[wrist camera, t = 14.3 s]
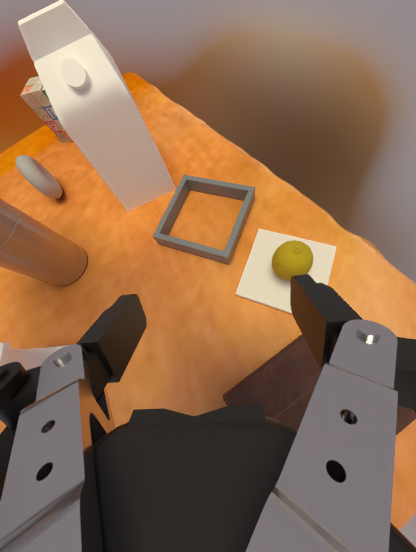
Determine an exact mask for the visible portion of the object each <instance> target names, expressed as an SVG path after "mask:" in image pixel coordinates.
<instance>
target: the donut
mask: <svg viewBox="0 0 416 552" xmlns="http://www.w3.org/2000/svg"><path fill="white" fill-rule="evenodd" d="M16 166H17V168H18V169H19V171H20V172H21V173H22V175H23V176H24V177H25V178H26V179H27V180H28V181H29V182H30V183H31V184H32V185H33V186H34V187H35V188H36V189H38V190H39V191H40V192H41V193H43V194H44V195H46V196H48V197H50V198H54V199H58V198H60V197H61V196H62V188H61V186H60V185H59V183H58V182H57V181H56V180H55V179H54V177H53V176H52V175H51V174H50V173H49V172H48V171H47V170H46V169H45V168H44V167H43V166H42V165H41V164H40V163H38V162H37V161H36V160H35V159H33V158H31V157H29V156H27V155H20V156H18V157H17V158H16Z"/></svg>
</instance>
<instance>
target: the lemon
mask: <svg viewBox="0 0 416 552" xmlns="http://www.w3.org/2000/svg"><path fill="white" fill-rule="evenodd" d="M312 265H313V253H312V251H311V249H310V247H309V246H308V245H306V244H305V243H303V242H301V241H296V240H292V241H287V242H285V243H283V244H282V245H280V246H279V247H278V248H277V249H276V251H275V252H274V254H273V257H272V268H273V271H274V273H275V274H276V275H277V276H278V277H279V278H281V279H283V280H285V281H291V276H295V275H303V274H307V273H308V272H309V271H310V269H311V267H312Z"/></svg>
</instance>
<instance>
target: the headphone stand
mask: <svg viewBox="0 0 416 552" xmlns="http://www.w3.org/2000/svg"><path fill="white" fill-rule="evenodd" d="M10 345H11V343H6V342H4V343H0V366H3V365H5V364H8V363H11V362H20V363H21V365H22V366H23V367H24V368H25V370H29V369H32V368H35V367H38V366H41V365H42V363H43V362H44V361H45V360H46V359H47V358H48V357H49V356H50V355H51V354H52V353H54V352H55V351H57V350H59V349H61V348H63V347H65V346H68V345H65V346H57V347H47V348H31V349H10ZM72 345H73V344H72Z"/></svg>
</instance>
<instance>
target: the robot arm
mask: <svg viewBox="0 0 416 552" xmlns="http://www.w3.org/2000/svg"><path fill="white" fill-rule="evenodd" d="M86 265H87V255H86V252H85V251H84V250H83V249H82V248H81V247H79V246H77V245H76V244H74V243H72V242H71V241H69V240H68V239H66V238H64V237H63V236H61V235H59V234H58V233H56V232H55V231H53V230H51V229H50V228H48V227H46V226H45V225H43V224H41V223H40V222H38V221H36V220H35V219H33V218H32V217H30V216H28V215H27V214H25V213H23V212H22V211H20V210H18V209H17V208H15V207H13V206H12V205H10V204H8V203H7V202H5V201H3V200H2V199H0V267H3V268H6V269H9V270H12V271H15V272H18V273H21V274H24V275H27V276H30V277H33V278H36V279H38V280H41V281H44V282H47V283H50V284H53V285H56V286H66V285H69V284H71V283H73V282H75V281H76V280H77V279H78V278H79V277H80V276H81V275H82V273H83V272H84V270H85V268H86ZM290 306H291V311H292V314H293V317H294V318H295V320H296V322H297V324H298V326H299V328H300V330H301V332H302V334H303V336H304V338H305V340H306V342H307V344H308V346H309V348H310V350H311V352H312V354H313V356H314V358H315V360H316V362H317V364H318V366H319V367H320V369H321V371H322V372H321V374H320V377H319V379H318V382H317V384H316V387H315V389H314V392H313V394H312V397H311V399H310V402H309V404H308V407H307V409H306V412H305V414H304V417H303V419H302V422H301V424H300V427H299V429H298V431H297V430H295V429H294V428H292V427H291V426H289V425H287V424H285V423H283V422H281V421H279V420H276V419H274V418H270V417H267V416H265V415H264V409H263V404H261V405H237V406H227V407H224V408H220V409H217V410H214V411H211V412H208V413H205V414H202V415H198V416H190V415H186V414H182V413H178V412H175V411H171V410H167V409H141V410H133V413H132V415H131V418H130V421H129V422H128V423H125V424H123V425H121V426H119V427H117V428H115V425H114V420H113V415H112V411H111V406H110V402H109V397H108V393H107V390H106V389H105V386H106V385H107V383H111V382H119V381H120V379H121V377H122V375H123V373H124V371H125V369H126V367H127V365H128V363H129V361H130V359H131V357H132V355H133V353H134V351H135V349H136V347H137V345H138V343H139V341H140V339H141V337H142V335H143V333H144V331H145V328H146V316H145V314H144V311H143V308H142V305H141V303H140V300H139V297H138V296H137V295H136V294H129V295H122V296H120V297H119V298H118V299H117V301H116V302H115V303H114V304H113V305H112V306H111V307H110V308H108V309H107V310H106V311H104V312H103V313H102V314H101V316H100V317H99V318H98V320H96V321H95V323H94V324H93V325H92V326H91V327H90V328H89V330H88V331H87V332H86V333H85V334H84V335H83V337H82V338H81V339H80V340H79V341H78V342H77V344H73V345H68V346H65V347H63V348H61V349H59V350H57V351H55V352H54V353H52V354H51V355H50V356H49V357H48V358H47V359H46V360H45V361H44V362H43V363H42V365H41V366H38V367H35V368H32V369H29V370H25V368H24V367H23V366H22V365H21V363H20V362H11V363H8V364H5V365H3V366H0V420H1V421H2V422H3V423H4V424H5V425H6V426H7V427H6V428H5V429H4V430H3V432H2V433H1V434H0V501H1V502H0V552H416V547H414V546H413V545H412V543H411V542H409V540H408V539H407V538H406V537H405V536H404V535H403V534H402V533H401V532H400V531H399V530H398V529H397V528H396V527H395V526H394V525H393V524H392V523H391V522H390V520H391V503H392V487H393V470H394V454H395V437H396V421H397V406H401V407H405V408H410V409H413V410H414V411H415V413H416V340H415V339H407V338H400V337H396V336H395V334H394V333H393V332H392V331H391V330H390V329H388V328H387V327H385V326H383V325H381V324H378V323H376V322H372V321H368V320H363V319H362V318H361V317H360V316H359V315H358V314H357V313H356V312H355V311H354V310H353V309H352V308H351V307H350V306H349V305H348V304H347V303H346V302H345V301H343V299H342V298H341V297H340V296H339V295H338V294H337V293H336V292H335V290H334V289H333V288H331V287H329V286H327V285H325V284H323V283H316V282H315V281H314V280H313V278H312V277H311V276H310V275H309V274H303V275H295V276H291V281H290Z"/></svg>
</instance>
